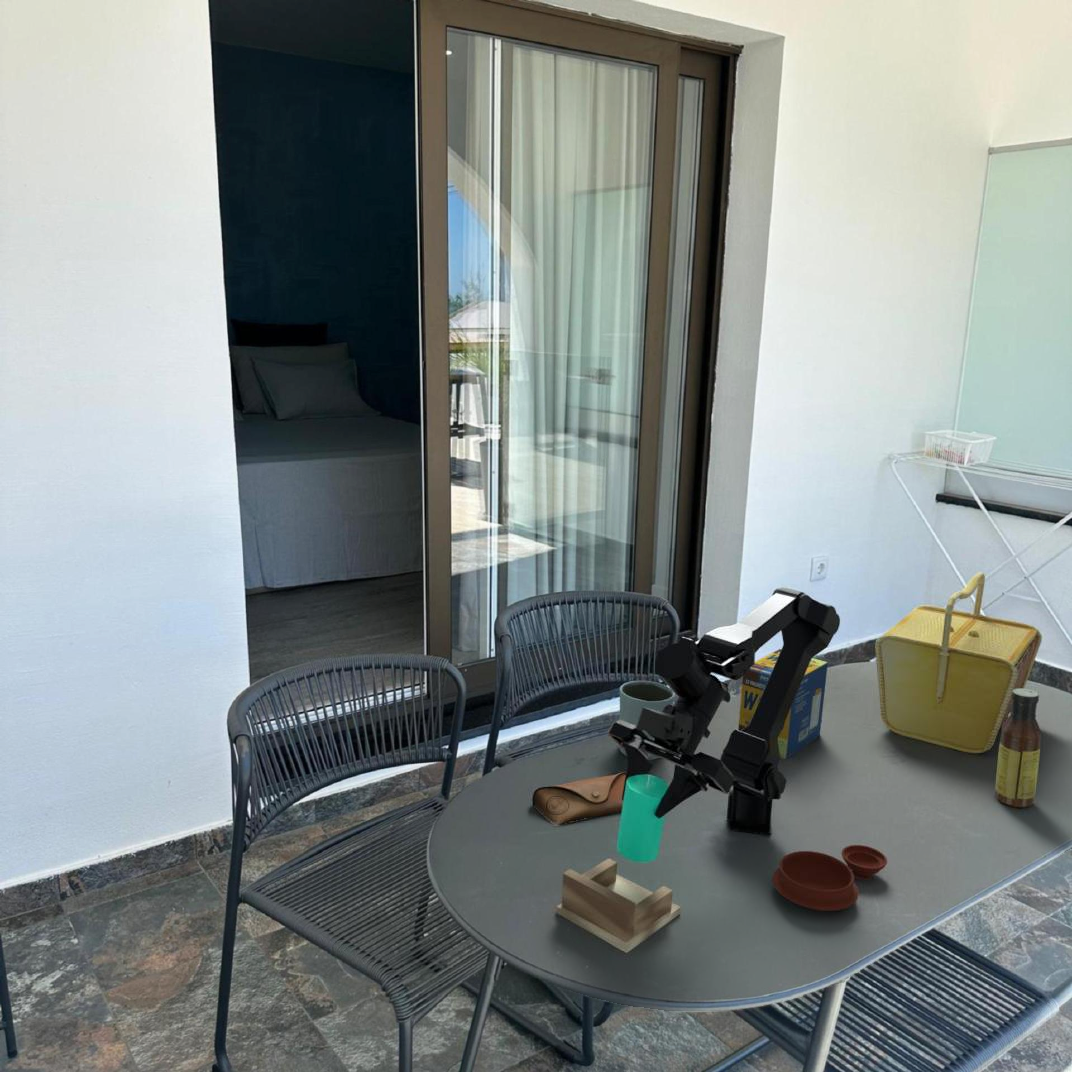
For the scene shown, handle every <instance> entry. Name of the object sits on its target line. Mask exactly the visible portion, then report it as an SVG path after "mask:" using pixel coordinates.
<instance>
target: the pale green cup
mask: <svg viewBox="0 0 1072 1072" xmlns="http://www.w3.org/2000/svg"><path fill="white" fill-rule="evenodd" d="M674 699H675V693H674V692H673V691H672V690H671V688H670V687H669V686H668V685H665V684H663V683H659V682H656V681H650V680H633V681H631V680H630V681H628V682H624V683H623V684H621V686H619V717H618V718H619V719H618V720H623V721H625V722H628V723H630V724H633V725H635V726H636V725H637V722H638V719H639V716H640V713H641V710H642V707H645V708H649V709H653V710H657V711H660V712H662V711H663V710H664V708H665V706H667V705H668V704H669V705H672V706H673V705H674V702H675V700H674ZM643 732H644V734H645V735H646V736H647V737H648V738H649V739H651V740H654V738H653V737H651V736H650V735H649V734H648V733H647V732H646V731H644V730H643ZM618 746H619V745H618ZM619 751H620V753H622V754H623V755H624V756H626V757H627V755H626V751H625V750H624V749H622V748H621V747H620V746H619ZM660 751H661V750H660ZM661 752H663V751H661ZM664 753H666V752H664ZM659 758H660V757H657V756H655V755H653V754H650V755H649V757H648V759H647V760H648V761H652V760H657V759H659ZM660 759H661V758H660Z"/></svg>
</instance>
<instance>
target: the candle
mask: <svg viewBox="0 0 1072 1072" xmlns="http://www.w3.org/2000/svg"><path fill="white" fill-rule="evenodd" d="M668 787H669V785H668V783H667V781H666V780H665V779H662V778H660V777H658V776H655V775H651V774H643V775H635V776H632V777H629V778H628V779H627V781H626V787H625V794H624V800H623V807H622V812H620V820H619V828H618V835H617V842H616V847H615V848H616V850H617V852H618V854H619V855H620V856H621V857H623V858H624V859H626V860H627V861H632V862H635V863H638V864H639V863H640V864H642V863H651V862H653V861H654V860H656V859H657V858H658V855H659V851H660V845H661V839H662V833H663V829H664V828H663V826H664V821H665V815H666V814H665V815H664V816H662V817H661V818H657V817H656V816H655V812H656V810H657V808H658V805H659V803H660V801H661V800H662V798H663V796H664V794H665V792H666V791H667V789H668Z"/></svg>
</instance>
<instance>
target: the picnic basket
mask: <svg viewBox="0 0 1072 1072" xmlns="http://www.w3.org/2000/svg"><path fill="white" fill-rule="evenodd" d="M985 581H986V575H985V573H984V572H982V571H979V572H977V573H976V574H975V575H974V576H973V577H972V578H970V580H968V582H967V584H966V586H964V588H963V589H962V590H959V591H956V592H953V594H951V596H950V597H949V598H948V601H947V603H946V607H942V606H936V605H928V604H922V605H918V606H917V607H915V608H914V609H912V611H911V612H909V613H908V614H907V615H906V616H904V617H903V618H902V619H901V620H900V621H899V622H897V623H896V624H894V625H893V626H892V627H890V628H889V629H888V630H887V631H886V632H885V633H884V634H882V635H881V636H879V637H878V638H877V639H876V641H875V645H874V647H875V649H874V650H875V659H876V660H875V661H876V672H877V682H878V683H877V685H878V695H879V706H880V707H879V708H880V709H879V710H880V716H881V720H882V723H883V724H884V725H885V726H886V727H887V728H888V729H889V730H890V731H891V732H893V733H894V734H897V735H900V736H902V737H907V738H911V739H914V740H917V741H922V742H925V743H928V744H929V743H930V744H933V745H937V746H941V747H944V748H949V749H952V750H956V751H960V752H963V753H967V754H980V753H985V752H987V751H989V750H991V748H992V747H993V746H994V745H995V744H994V743H995V741H996V739H997V735H998V732H999V731H1000V730H1001V729H1002V725H1003V723H1004V722H1005V721H1006V720H1007V719H1008V717H1009V716H1010V713H1011V709H1012V691H1013V690H1014V689H1019V688H1023V689H1025V686H1026V684H1027V681H1028V679H1029V676H1030V674H1031V671H1032V668H1033V665H1034V663H1035V660H1036V657H1037V655H1038V652H1039V651H1040V650H1039V649H1040V646H1041V643H1042V638H1043V635H1042V633H1041V632H1040V630H1039V629H1038V628H1037V627H1035V626H1034V625H1031V624H1029V623H1026V622H1021V621H1020V622H1019V621H1016V620H1010V619H1005V618H1000V617H999V618H997V617H995V616H994V617H993V616H990V615H989V616H988V615H983V614H981V608H982V602H983V595H984V589H985V584H986V583H985ZM975 591H976V595H975V600H974V606H973V607H974V608H973V612H968V611H962V610H957V609H954V606H955V604H956V601H957V600H958V599H959V600H965V599H968V598H969V597H971V596H972V595H973V594H974V593H975Z"/></svg>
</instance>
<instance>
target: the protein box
mask: <svg viewBox="0 0 1072 1072" xmlns="http://www.w3.org/2000/svg"><path fill="white" fill-rule="evenodd" d="M781 649H782V648H779V649H777V650H775V651H774V652H771V653H769V654H768V655H765V656H764V657H762V658H760V659H758V660H755V663H754V664H753V666H752V667H751V668H750V669H749V670H748V671H747V672H746V674H745V675H744V676H743V677H742V680H741V682H742V683H741V691H740V692H741V693H740V694H741V695H740V701H739V702H740V704H739V717H738V718H739V719H738V729H737V730H739V731H741V730H742V729H744V728H745V727H747V726H748V725H749V723H750V721H751V719H752V717H753V714H754V712H755V710H756V707H757V705H758V703H759V700H760V698H761V696H762V693H763V691H764V689H765V686H766V684H767V682H768V679H769V677H770V675H771V673H772V670H773V668H774V666H775V663H776V661H777V659H778V656H779V654H780V652H781ZM828 664H829V663H828V662H827V661H825V660H824V661H823V660H820V659H818V658H814V657H813V658H812V659H811V661H810V663H809V666H808V668H807V670H806V673H805V675H804V677H803V680H802V682H801V685H800V687H799V689H798V692H797V694H796V696H795V699H794V701H793V703H792V706H791V708H790V711H789V713H788V715H787V718H786V720H785V722H784V725H783V727H782V729H781V732H780V734H779V737H778V746H779V752H780V759H784V760H786V759H787V758H789V757H791V756H792V755H793V754H795V753H796V752H797V751H799V750H800V749H802V748H803V747H805V746H806V745H808V744H809V743H810V742H812V741H813V740H815V739H817V737H819V736H820V735H821V728H822V727H821V726H822V719H823V718H822V717H823V710H824V701H825V692H826V691H825V690H826V681H827V674H828V673H827V672H828Z"/></svg>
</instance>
